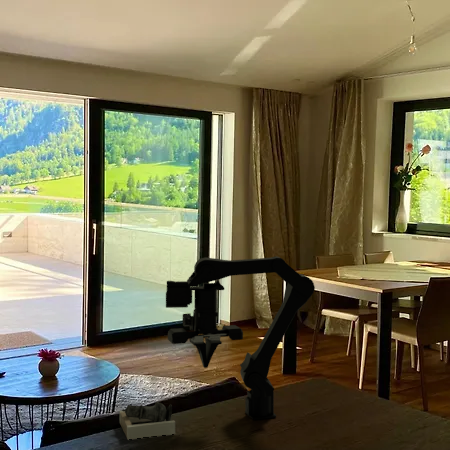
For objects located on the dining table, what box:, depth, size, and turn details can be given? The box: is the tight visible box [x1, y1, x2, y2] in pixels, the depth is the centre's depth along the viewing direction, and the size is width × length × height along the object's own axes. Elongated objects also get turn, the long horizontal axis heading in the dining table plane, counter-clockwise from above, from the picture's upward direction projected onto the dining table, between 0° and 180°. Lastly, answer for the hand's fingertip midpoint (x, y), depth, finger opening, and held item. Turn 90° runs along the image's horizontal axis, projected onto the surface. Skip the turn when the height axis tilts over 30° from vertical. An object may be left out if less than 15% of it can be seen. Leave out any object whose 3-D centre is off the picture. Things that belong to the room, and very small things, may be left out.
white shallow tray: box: [119, 410, 176, 441], centre depth 162 cm, size 11×12×3 cm
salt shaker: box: [121, 401, 173, 423], centre depth 163 cm, size 6×6×12 cm
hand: (205, 367), depth 169 cm, fingers closed
